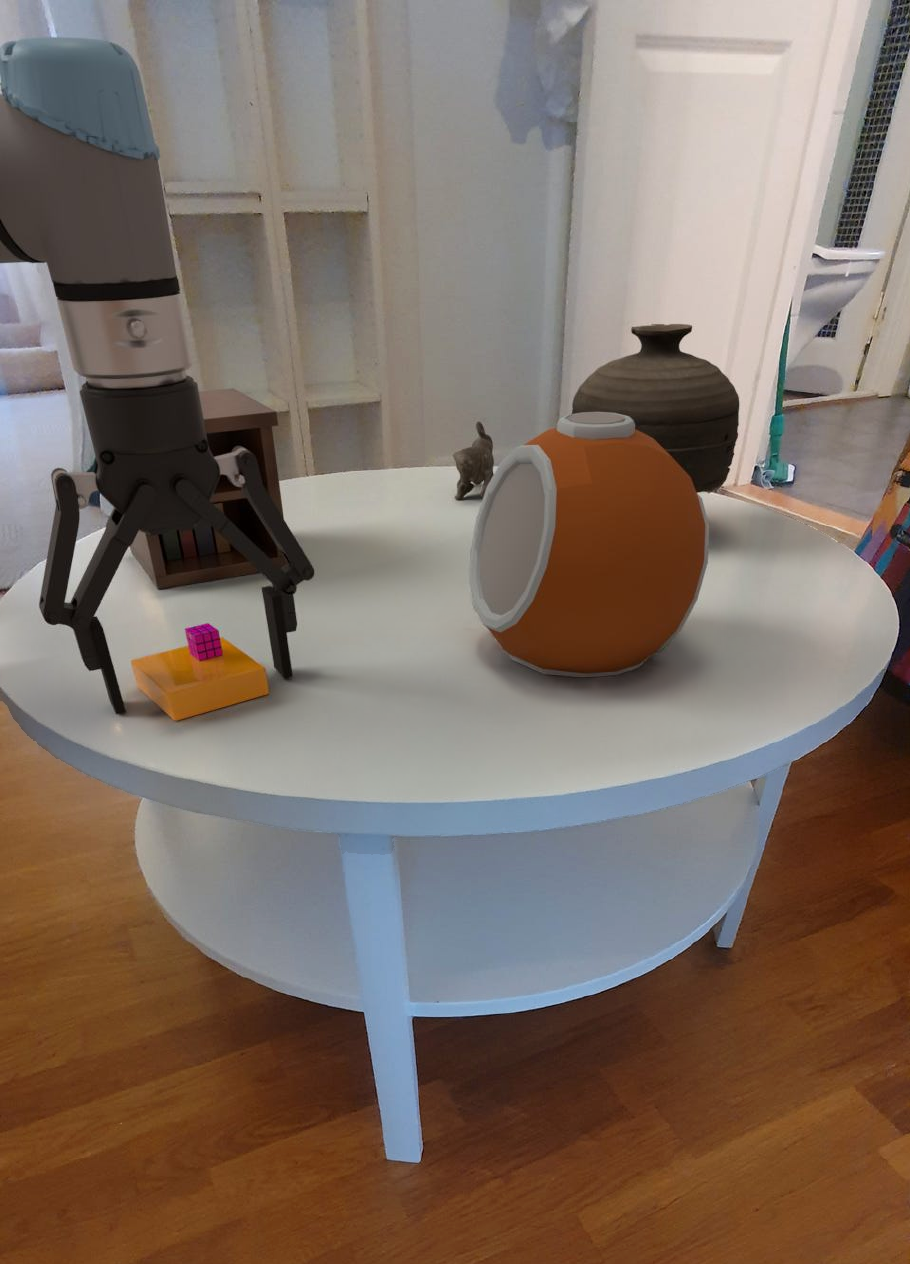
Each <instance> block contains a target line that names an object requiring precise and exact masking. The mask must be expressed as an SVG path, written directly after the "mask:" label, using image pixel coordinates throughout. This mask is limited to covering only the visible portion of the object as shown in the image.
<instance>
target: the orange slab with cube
mask: <svg viewBox="0 0 910 1264" xmlns="http://www.w3.org/2000/svg"><path fill="white" fill-rule="evenodd" d="M184 632H185V636H186V641H187V645H185V646H181V647H177V648H174V649H169V650H166V651H161V652H158V653H154V654H151V655H150V654H149V655H146V656H142V657H139V658H134V659H131V660H130V665H131V668H132V672H133V676H134V680H135V684H136V687H137V688H138V689H139V690H140V691H141V692H143V693H144V695H146V696H147V697H148V698H149V699H150V700H151V701H152V702H153V703H154V704H156V705H157V706H158V707H159V708H160V709H161V710H162V711H163V712H164V713H165V714H167V715H168V717H169V718H171V719H172V720H173V721H174V722H177V721H181V720H185V719H187V718H190V717H195V716H198V715H201V714H205V713H208V712H212V711H216V710H218V709H223V708H224V707H225V708H227V707H229V706H232V705H236V704H240V703H242V702H246V701H249V700H253V699H257V698H260V697H264V696H267V695H269V694H270V689H269V684H268V678H267V677H268V676H267V672H266V667H265V666H263V664H261V663H259V662H258V661H257V660H255V659H254V658H252V657H251V656H249V655H248V654H246V653H245V652H244V651H242V650H241V649H240V648H238V647H237V646H236V645H234V644H233V643H231V642H230V641H229V640H227V639H226V638H224V637H222V636H220V631H219V629H218V628H216V627H214V625H212V624H210V623H209V622H206V623H203V624H198V625H194V626H190V627H186V628H184Z"/></svg>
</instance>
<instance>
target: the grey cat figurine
mask: <svg viewBox="0 0 910 1264" xmlns="http://www.w3.org/2000/svg"><path fill="white" fill-rule="evenodd" d="M475 429H476V432H477V434H478V436H477V438H476V439H474V441H473V442H472V444H471V446H469V447H465V448H462V449H461V450H458V451H456V452H454V453H453V454H452V457H453V460H454V461H455V467H456V470H457V472H458V473H459V479H458V481H457V483H456V487H457V489H456V494H455V495H454V499H455V500H458V501H460V500H462V499H464V497H465V496H466V495H467V494H469V493H471V492H472V491H473V489H475V486H479V485H481V484H482V487H481V491H480V497H481V498H483V497H484V494H485V491H486V488H487V486H488V484H489V482H490V480H491V479H492V477H493V475H494V464H495V460H494V455H493V449H494V443H493V439H492V437H491V436H490V435H489V434H487V433H486V430H485V427H484V424H482V422H480V421H477V422H476V423H475Z"/></svg>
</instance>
